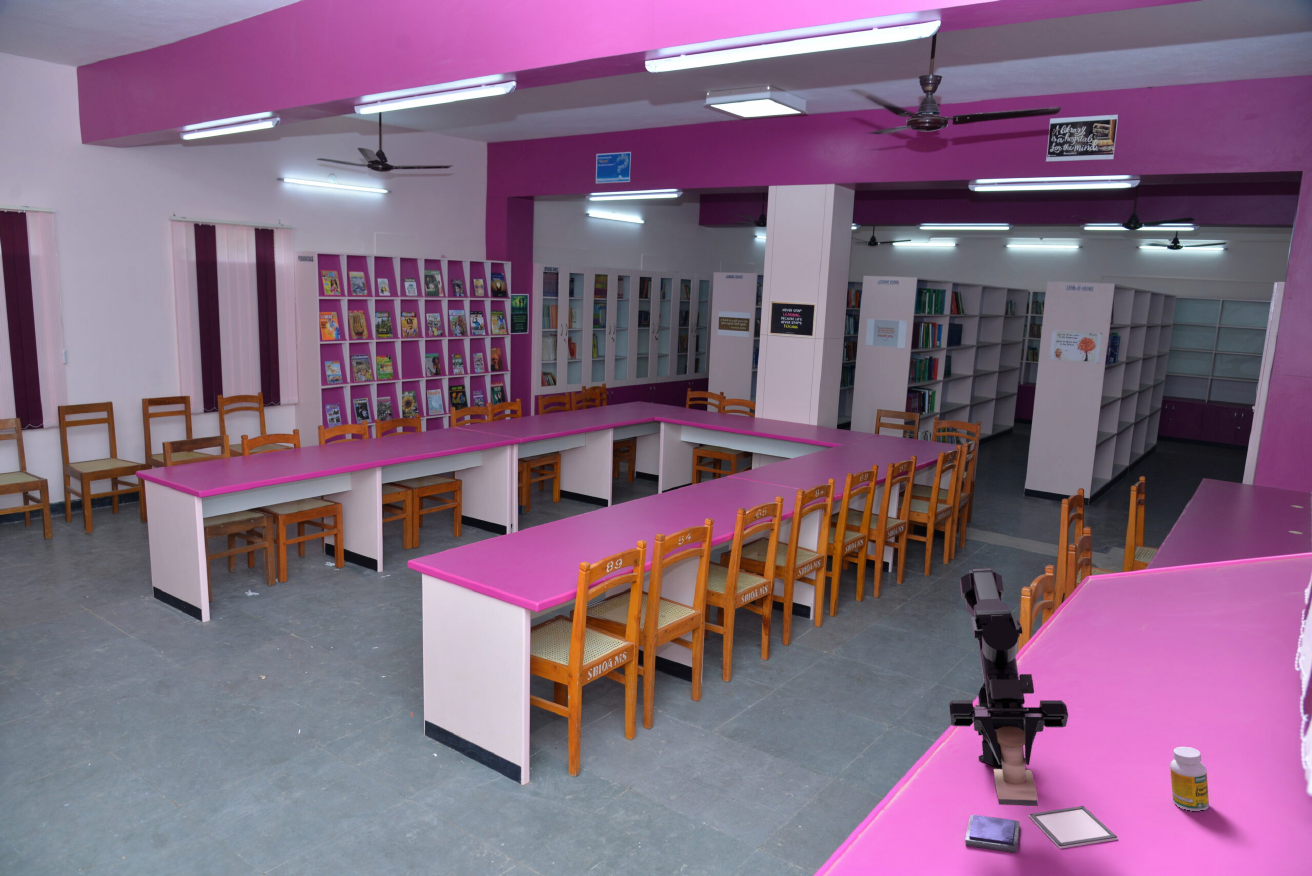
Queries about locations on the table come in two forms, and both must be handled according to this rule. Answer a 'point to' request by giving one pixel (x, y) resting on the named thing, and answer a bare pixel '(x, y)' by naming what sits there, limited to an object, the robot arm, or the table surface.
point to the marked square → (1072, 827)
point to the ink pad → (993, 833)
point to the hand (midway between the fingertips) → (1014, 764)
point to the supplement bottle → (1189, 780)
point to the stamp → (1014, 770)
